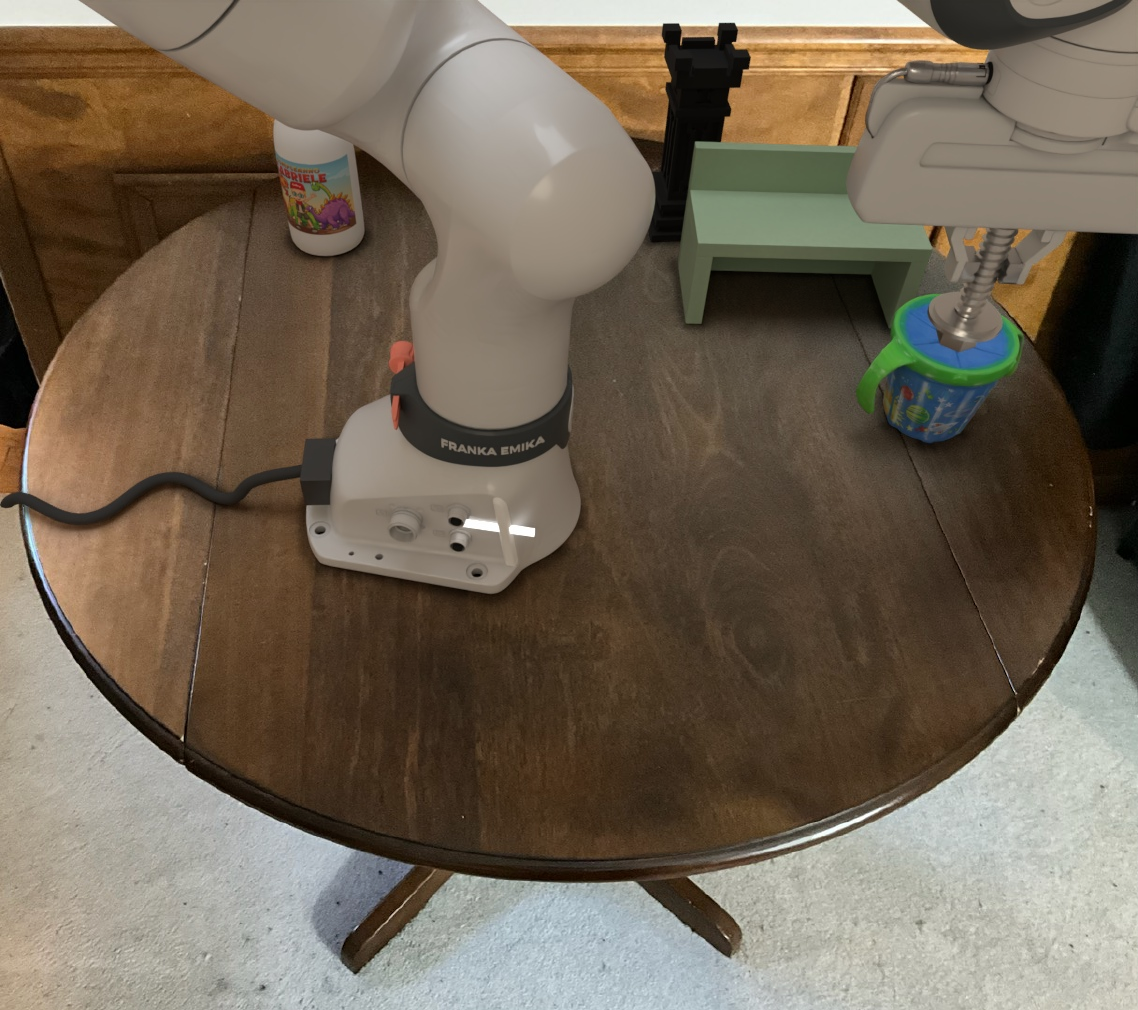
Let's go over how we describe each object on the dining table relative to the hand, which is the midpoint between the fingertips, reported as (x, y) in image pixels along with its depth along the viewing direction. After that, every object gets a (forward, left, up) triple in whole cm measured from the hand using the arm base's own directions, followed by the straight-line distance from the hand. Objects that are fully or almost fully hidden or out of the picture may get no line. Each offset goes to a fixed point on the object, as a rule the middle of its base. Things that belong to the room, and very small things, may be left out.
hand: (982, 278), depth 67 cm
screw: (0, 0, -5) cm, 5 cm away
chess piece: (-13, +45, -26) cm, 53 cm away
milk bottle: (-51, +40, -26) cm, 70 cm away
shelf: (-3, +32, -26) cm, 41 cm away
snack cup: (+7, +14, -26) cm, 31 cm away
